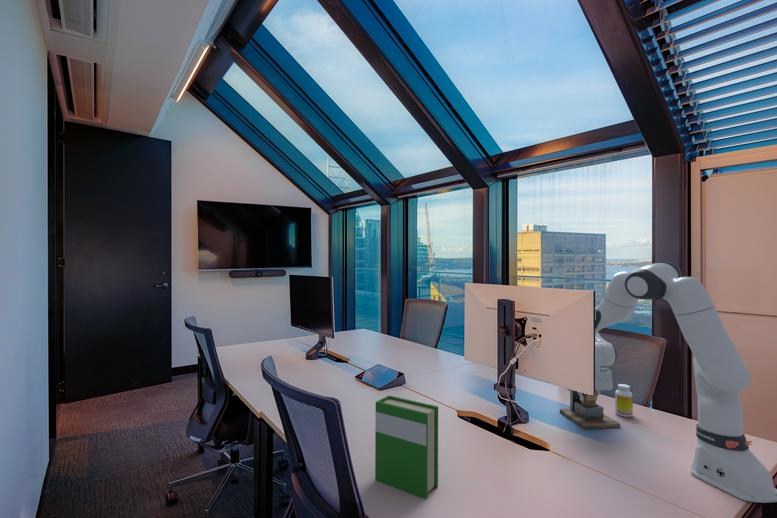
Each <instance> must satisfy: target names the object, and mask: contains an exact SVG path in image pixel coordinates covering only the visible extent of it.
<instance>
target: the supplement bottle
mask: <svg viewBox="0 0 777 518" xmlns="http://www.w3.org/2000/svg"><path fill="white" fill-rule="evenodd" d="M630 389H631V386H630V385H628V384H625V383H624V384H623V383H619V384H617V389H616V390H615V392H614V395H615V396H614V398H615V400H614V401H615V402H614V407H615V408H614V409H615V411H614V412H615V414H616V415H618V416H620V417H623V416H624V417H625V418H631V417H632V416H634V415H633V410H634V409H633V402H634V401H633V400H634V399H633V393H632V392H631V391H630Z"/></svg>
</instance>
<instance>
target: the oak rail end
mask: <svg viewBox="0 0 777 518" xmlns="http://www.w3.org/2000/svg"><path fill="white" fill-rule="evenodd" d="M582 395H583V396H584V397H585V401H581V404H582V405H584V406H585V407H596V404H597V402H596V386H595V394H594V395H588V394H584V393H582Z"/></svg>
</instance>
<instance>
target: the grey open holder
mask: <svg viewBox="0 0 777 518" xmlns="http://www.w3.org/2000/svg"><path fill="white" fill-rule="evenodd" d="M569 407H570V408H569V409H570V410H571V411H572V412H575V414H577V415H578V416H580V417H581V418H583V419H584V420H601V419H603V414H604V407H603V406H601V405H600V404H599V403H596V407H585V406H584V405H582V404H581V400H580V396H579V394H578V392H577V391H569Z"/></svg>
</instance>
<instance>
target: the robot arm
mask: <svg viewBox="0 0 777 518" xmlns="http://www.w3.org/2000/svg"><path fill="white" fill-rule="evenodd" d="M663 299H664V300H665V301H667V302H668V303H669V306H670V308H671V310H672V313H673V315H674V317H675V319H676V321H677V324H678V327H679V329H680V331H681V334H682V335H683V338H684V339H685V341H686V344H687V345H688V346H689V348H690V350H691V353H692V355H693V358H692V362H693V371H694V372H693V373H694V383H695V391H696V395H697V396H696V397H697V424H696V425H695V427H696V428H695V436H696V437H697V440H696V441H697V442H696V445H695V446H696V447H695V449H694V450H695V451H694V458H693V461H692V464H691V471H690V473H691V475H692V476H693V477H695V478H696V479H697V478H698V479H699V480H701V481H703V482H706V483H708V484H710V485H711V486H713V487H716V488H718V489H719V490H722V491H724V492H726V493H728V494H729V495H731V496H733V497H735V498H737V499H740V500H742V501H746V502H751V503H759V504H761V503H763V504H766V503H770V504H771V503H777V488H776V487H775V486H774V481H773V476H772V474H771V471H770V470H769V469H767V468H766V466H765V465H764V464H763V463H762V462H761V461H760V460H759V459H758V457H756V455H754V453H753V452H752V451H751V450H750V446H752V445H753V444H752V443H753V441H752V440H747V438H746V436H745V434H744V428H743V427H744V422H743V421H744V416H743V415H744V411H743V409H744V408H743V405H742V402H741V398H740V392H743V391H745V390H746V389H748V387H749V386H750V385H751V381H752V377H751V373H750V371H749V368H748V367H747V365H746V363H745V362H744V360H743V358H742V356H741V354H740V352H739V351H738V349H737V346H736V345H735V344H734V342H733V340H732V339H731V337H730V335H729V334H728V331H727V329H726V328H725V326H724V324H723V321H722V319H721V317H720V314H719V312H718V310H717V309H716V306H715V304H714V302H713V300H712V298H711V296H710V294H709V292H708V291H707V289H706V288H705V286H704V285H703V284H702V282H701V281H700V280H699V279H697V278H696V277H693V276H683V274H682V270H681V269H680V268H679V266H678V265H677V264H675V263H673V262H670V261H658V262H655V263H650V264H646V265H643V266H641V267H639V268H637V269H634V270H632V271H631V272H629V271H624V270H623V271H618V272H616V273H615V274H614V275H613V276H612V278H611V279H610V282H609V283H608V284H607V287H606V289H605V292H604V295H603V298H602V299H601V301H600V302H599V303H598V305H597V306H595V308H596V320H595V386H596V401H598V397H599V395H600V394H601V391H611V390H612V389H613V388H614V384H613V377H612V374H613V373H612V372H613V371H612V370H611V369H610V368H609V367H610V366H613V365H615V363H616V361H617V360H618V359H617V358H618V351H617V347H615V346H614V344H613V343H611V342H608V341H607V340H605V339H604V338H603V337H602V336H601V335H600V333H599V331H601V330H602V329H604V328H606V327H610V326H612V325H617V324H619V323H623V322H626V321H627V320H629V319H630V318H631V317H632V315H633V314H634V312H635V310H636V308H637V305H638V302H639V300H645V301H647V300H649V301H661V300H663ZM608 366H609V367H608ZM565 390H567V391H568V392H570V391H574V390H571V389H567V388H565ZM578 394H579V396H580V400H581V401H585V397H584V396H583V395H582V393H581V392H578Z"/></svg>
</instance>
